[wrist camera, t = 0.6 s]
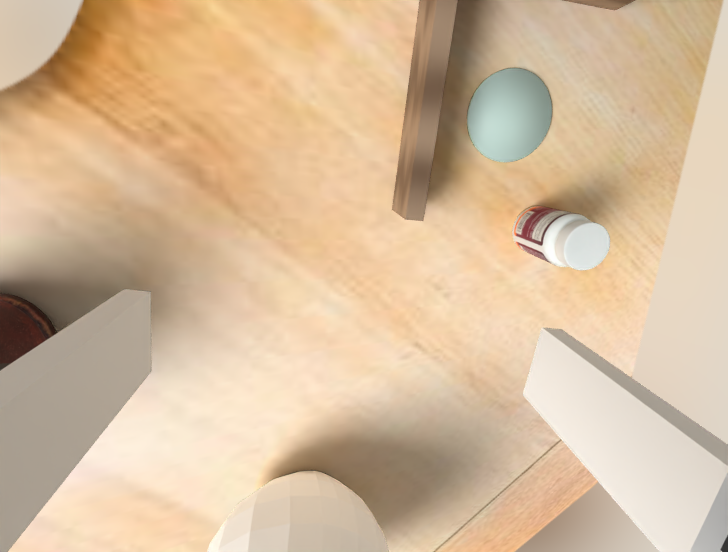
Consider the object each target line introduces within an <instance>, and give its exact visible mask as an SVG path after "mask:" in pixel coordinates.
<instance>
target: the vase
mask: <svg viewBox="0 0 728 552" xmlns="http://www.w3.org/2000/svg"><path fill="white" fill-rule="evenodd" d="M55 334H56V332H55V329H54V327H53V325H52V323H51V321H50V320H49V319H48V318H47V316H46V315H45V314H44V313H43V312H42V311H41V310H40V309H38V308H37V307H36V306H34V305H33V304H31V303H30V302H28V301H26V300H24V299H22V298H19V297H16V296H13V295H9V294H4V293H0V364H2V363H10V364H11V363H13V362H14V361H16V360H17V359H19V358H20V357H22V356H23V355H25V354H26V353H28V352H29V351H31V350H32V349H34V348H35V347H37V346H38V345H40V344H41V343H43V342H44V341H46V340H48V339H49V338H51V337H52V336H54V335H55Z"/></svg>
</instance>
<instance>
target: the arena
mask: <svg viewBox="0 0 728 552" xmlns="http://www.w3.org/2000/svg"><path fill="white" fill-rule="evenodd" d="M564 1H569V2H575V3H580V4H585V5H591V6H596V7H601V8H606V9H612V10H617V9H619V8H621V7H623V6H625V5H627V4H629V3H631V2H633V1H635V0H564ZM457 2H458V0H420V2H419V9H418V17H417V25H416V32H415V40H414V47H413V55H412V63H411V70H410V78H409V85H408V93H407V100H406V108H405V116H404V123H403V131H402V138H401V146H400V154H399V161H398V169H397V176H396V184H395V191H394V199H393V207H392V210H393V211H395V212H396V213H397V214H399V215H400V216H402V217H403V218H404V219H407V220H417V221H423V220H424V214H425V207H426V201H427V194H428V188H429V182H430V175H431V169H432V162H433V156H434V149H435V143H436V137H437V130H438V124H439V117H440V111H441V105H442V98H443V92H444V85H445V79H446V73H447V66H448V60H449V53H450V47H451V41H452V34H453V28H454V21H455V15H456V8H457Z"/></svg>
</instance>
